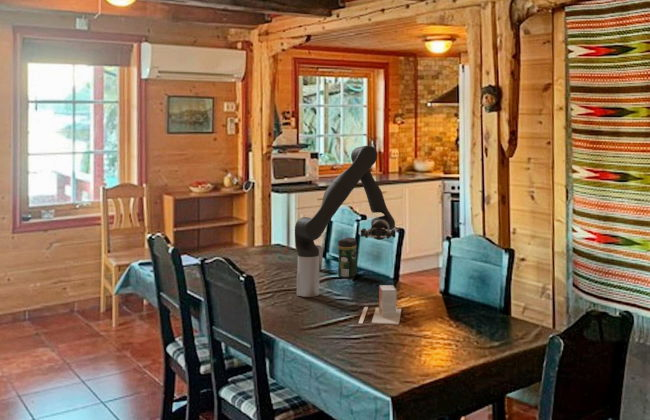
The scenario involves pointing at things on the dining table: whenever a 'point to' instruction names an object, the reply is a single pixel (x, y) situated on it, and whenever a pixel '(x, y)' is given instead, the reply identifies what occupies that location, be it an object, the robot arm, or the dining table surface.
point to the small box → (387, 300)
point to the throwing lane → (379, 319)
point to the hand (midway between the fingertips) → (377, 235)
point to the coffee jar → (347, 257)
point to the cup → (320, 255)
